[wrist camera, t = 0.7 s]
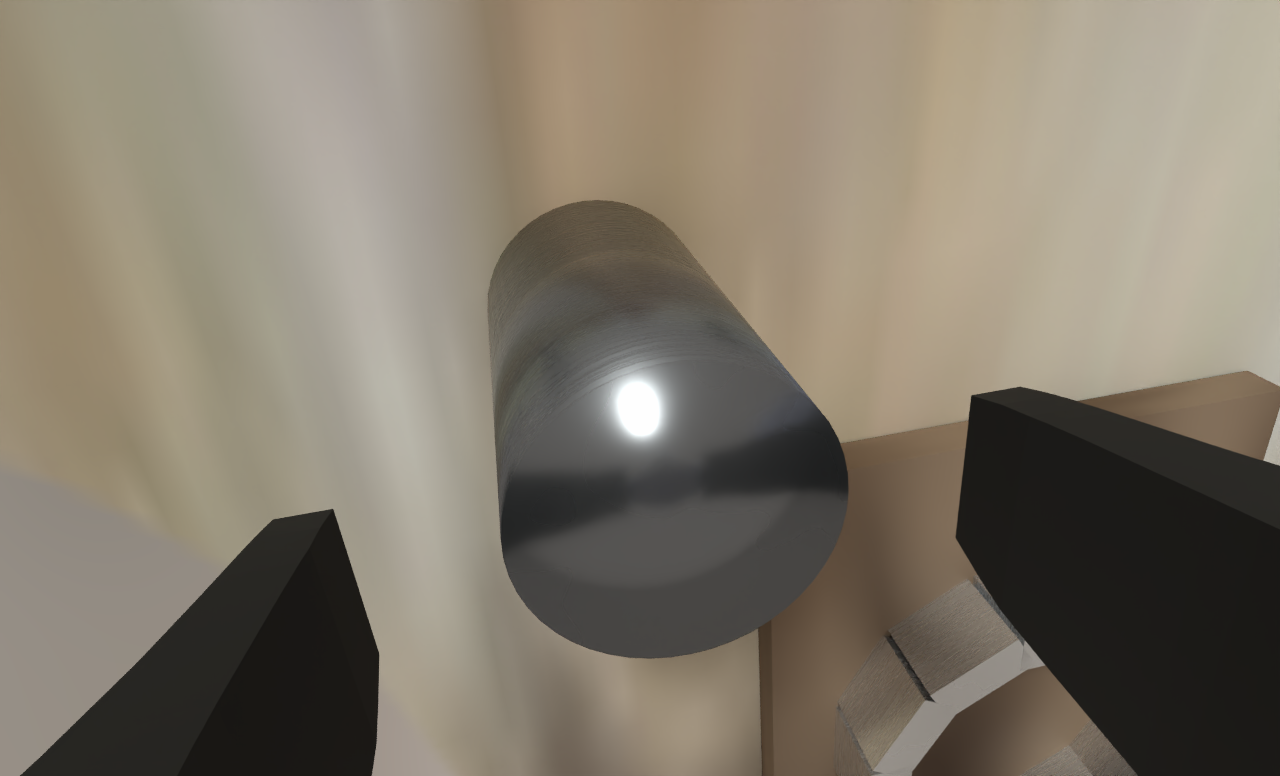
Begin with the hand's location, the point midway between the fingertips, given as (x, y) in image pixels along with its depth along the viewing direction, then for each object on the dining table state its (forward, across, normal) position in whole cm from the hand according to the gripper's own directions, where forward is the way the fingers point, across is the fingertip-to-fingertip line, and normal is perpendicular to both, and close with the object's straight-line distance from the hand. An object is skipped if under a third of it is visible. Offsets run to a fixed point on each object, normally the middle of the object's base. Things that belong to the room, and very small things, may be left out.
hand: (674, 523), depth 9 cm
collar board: (+7, -9, +12) cm, 17 cm away
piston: (+7, 0, 0) cm, 7 cm away
